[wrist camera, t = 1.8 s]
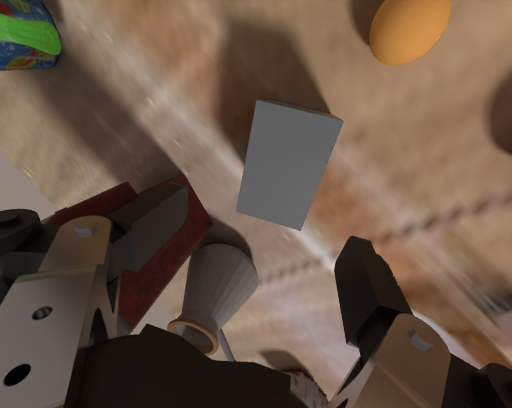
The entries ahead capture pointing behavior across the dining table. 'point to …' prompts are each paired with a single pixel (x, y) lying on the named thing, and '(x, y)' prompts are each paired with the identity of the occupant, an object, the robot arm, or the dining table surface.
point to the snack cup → (27, 36)
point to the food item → (306, 390)
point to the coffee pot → (214, 296)
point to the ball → (407, 29)
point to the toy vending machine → (160, 264)
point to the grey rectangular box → (285, 161)
